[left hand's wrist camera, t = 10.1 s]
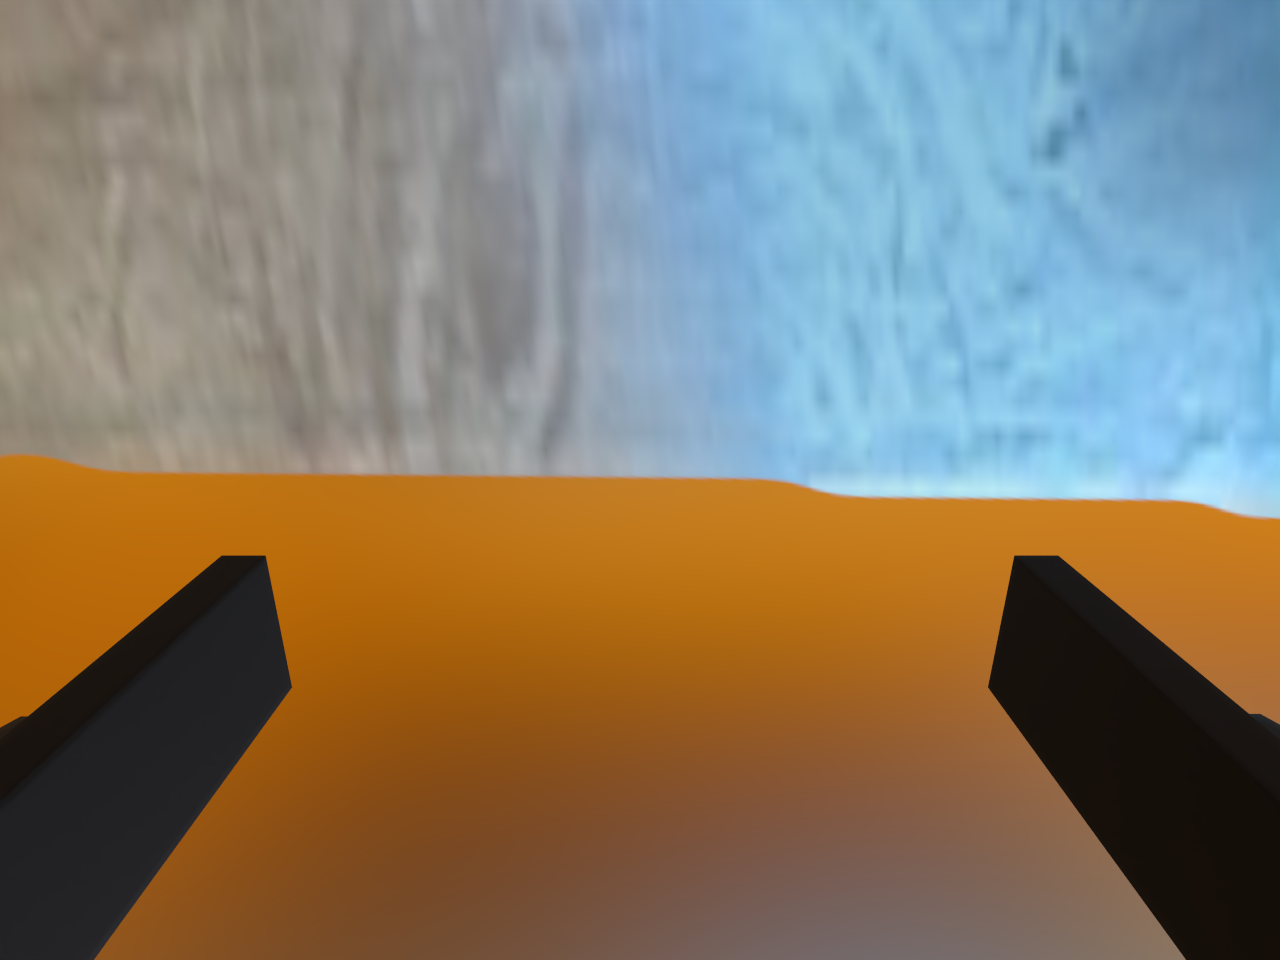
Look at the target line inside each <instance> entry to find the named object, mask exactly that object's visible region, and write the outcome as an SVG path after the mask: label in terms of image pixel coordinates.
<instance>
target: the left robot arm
mask: <svg viewBox="0 0 1280 960" xmlns="http://www.w3.org/2000/svg"><path fill="white" fill-rule="evenodd" d="M291 688H292V685H291V680H290V676H289V671H288V665H287V661H286V655H285V651H284V645H283V640H282V636H281V631H280V625H279V620H278V616H277V610H276V605H275V601H274V596H273V591H272V586H271V581H270V576H269V571H268V566H267V561H266V556H221V557H220V558H218V559H217V560H216V561H215V562H214V563H212V564H211V565H210V566H209V567H208V568H206V569H205V570H204V571H203V572H202V573H200V574H199V575H198V576H197V577H195V578H194V579H193V580H192V581H191V582H189V583H188V584H187V585H186V586H185V587H183V588H182V589H181V590H180V591H179V592H177V593H176V594H175V595H174V596H173V597H171V598H170V599H169V600H168V601H167V602H165V603H164V604H163V605H162V606H161V607H159V608H158V609H157V610H156V611H155V612H153V613H152V614H151V615H150V616H149V617H147V618H146V619H145V620H144V621H143V622H141V623H140V624H139V625H138V626H136V627H135V628H134V629H133V630H132V631H130V632H129V633H128V634H127V635H126V636H124V637H123V638H122V639H121V640H120V641H118V642H117V643H116V644H115V645H114V646H112V647H111V648H110V649H109V650H108V651H106V652H105V653H104V654H103V655H102V656H100V657H99V658H98V659H97V660H95V661H94V662H93V663H92V664H91V665H89V666H88V667H87V668H86V669H85V670H83V671H82V672H81V673H80V674H79V675H77V676H76V677H75V678H74V679H73V680H71V681H70V682H69V683H68V684H67V685H65V686H64V687H63V688H62V689H61V690H59V691H58V692H57V693H56V694H55V695H53V696H52V697H51V698H50V699H49V700H47V701H46V702H45V703H44V704H42V705H41V706H40V707H39V708H38V709H36V710H35V711H34V712H33V713H32V714H30V715H29V716H28V717H19V718H17V719H15V720H13V721H12V722H10V723H8V724H6V725H4V726H3V727H1V728H0V960H94V959H95V957H96V956H97V955H98V953H99V952H100V951H101V949H102V948H103V946H104V945H105V944H106V942H107V941H108V940H109V938H110V937H111V935H112V934H113V933H114V931H115V930H116V929H117V927H118V926H119V924H120V923H121V922H122V920H123V919H124V917H125V916H126V915H127V913H128V912H129V911H130V909H131V908H132V907H133V905H134V904H135V902H136V901H137V900H138V898H139V897H140V896H141V894H142V893H143V891H144V890H145V889H146V887H147V886H148V885H149V883H150V882H151V880H152V879H153V878H154V876H155V875H156V873H157V872H158V871H159V869H160V868H161V867H162V865H163V864H164V863H165V861H166V860H167V858H168V857H169V856H170V854H171V853H172V852H173V850H174V849H175V847H176V846H177V845H178V843H179V842H180V841H181V839H182V838H183V836H184V835H185V834H186V832H187V831H188V829H189V828H190V827H191V825H192V824H193V823H194V821H195V820H196V818H197V817H198V816H199V814H200V813H201V812H202V810H203V809H204V808H205V806H206V805H207V803H208V802H209V801H210V799H211V798H212V796H213V795H214V794H215V792H216V791H217V790H218V788H219V787H220V786H221V784H222V783H223V781H224V780H225V779H226V777H227V776H228V774H229V773H230V772H231V770H232V769H233V768H234V766H235V765H236V763H237V762H238V761H239V759H240V758H241V757H242V755H243V754H244V753H245V751H246V750H247V748H248V747H249V746H250V744H251V743H252V742H253V740H254V739H255V737H256V736H257V735H258V733H259V732H260V730H261V729H262V728H263V726H264V725H265V724H266V722H267V721H268V719H269V718H270V717H271V715H272V714H273V713H274V711H275V710H276V708H277V707H278V706H279V704H280V703H281V702H282V700H283V699H284V697H285V696H286V695H287V693H288V692H289V691H290V689H291ZM988 688H989V689H990V691H991V692H992V693H993V695H994V696H995V697H996V699H997V700H998V702H999V703H1000V704H1001V706H1002V707H1003V708H1004V710H1005V711H1006V713H1007V714H1008V715H1009V717H1010V718H1011V719H1012V721H1013V722H1014V724H1015V725H1016V726H1017V728H1018V729H1019V731H1020V732H1021V733H1022V735H1023V736H1024V737H1025V739H1026V740H1027V741H1028V743H1029V744H1030V746H1031V747H1032V748H1033V750H1034V751H1035V753H1036V754H1037V755H1038V757H1039V758H1040V759H1041V761H1042V762H1043V764H1044V765H1045V766H1046V768H1047V769H1048V770H1049V772H1050V773H1051V775H1052V776H1053V777H1054V778H1055V780H1056V781H1057V783H1058V784H1059V786H1060V787H1061V788H1062V790H1063V791H1064V792H1065V794H1066V795H1067V796H1068V798H1069V799H1070V801H1071V802H1072V803H1073V805H1074V806H1075V808H1076V809H1077V810H1078V812H1079V813H1080V814H1081V816H1082V817H1083V819H1084V820H1085V821H1086V823H1087V824H1088V825H1089V827H1090V828H1091V830H1092V831H1093V832H1094V834H1095V835H1096V836H1097V838H1098V839H1099V841H1100V842H1101V843H1102V845H1103V846H1104V847H1105V849H1106V850H1107V852H1108V853H1109V854H1110V856H1111V857H1112V858H1113V860H1114V861H1115V863H1116V864H1117V865H1118V867H1119V868H1120V869H1121V871H1122V872H1123V873H1124V875H1125V876H1126V878H1127V879H1128V880H1129V882H1130V883H1131V884H1132V886H1133V887H1134V889H1135V890H1136V891H1137V893H1138V894H1139V896H1140V897H1141V898H1142V900H1143V901H1144V902H1145V904H1146V905H1147V906H1148V908H1149V909H1150V911H1151V912H1152V913H1153V915H1154V916H1155V917H1156V919H1157V920H1158V922H1159V923H1160V924H1161V926H1162V927H1163V929H1164V930H1165V931H1166V933H1167V934H1168V935H1169V937H1170V938H1171V939H1172V941H1173V942H1174V944H1175V945H1176V946H1177V948H1178V949H1179V951H1180V952H1181V953H1182V955H1183V956H1184V957H1185V959H1186V960H1280V725H1279V724H1278V723H1276V722H1274V721H1272V720H1270V719H1268V718H1267V717H1265V716H1263V715H1261V714H1248V713H1247V712H1246V711H1245V710H1244V709H1242V708H1241V707H1240V706H1239V705H1238V704H1236V703H1235V702H1234V701H1233V700H1231V699H1230V698H1229V697H1228V696H1227V695H1225V694H1224V693H1223V692H1222V691H1221V690H1219V689H1218V688H1217V687H1216V686H1215V685H1213V684H1212V683H1211V682H1210V681H1209V680H1207V679H1206V678H1205V677H1204V676H1203V675H1201V674H1200V673H1199V672H1198V671H1197V670H1195V669H1194V668H1193V667H1192V666H1190V665H1189V664H1188V663H1187V662H1186V661H1184V660H1183V659H1182V658H1181V657H1180V656H1178V655H1177V654H1176V653H1175V652H1174V651H1172V650H1171V649H1170V648H1169V647H1168V646H1166V645H1165V644H1164V643H1163V642H1161V641H1160V640H1159V639H1158V638H1157V637H1156V636H1154V635H1153V634H1152V633H1151V632H1150V631H1148V630H1147V629H1146V628H1145V627H1144V626H1142V625H1141V624H1140V623H1139V622H1137V621H1136V620H1135V619H1134V618H1133V617H1131V616H1130V615H1129V614H1128V613H1127V612H1125V611H1124V610H1123V609H1122V608H1121V607H1119V606H1118V605H1117V604H1116V603H1115V602H1113V601H1112V600H1111V599H1110V598H1109V597H1107V596H1106V595H1105V594H1104V593H1102V592H1101V591H1100V590H1099V589H1098V588H1097V587H1095V586H1094V585H1093V584H1092V583H1090V582H1089V581H1088V580H1087V579H1086V578H1085V577H1083V576H1082V575H1081V574H1080V573H1078V572H1077V571H1076V570H1075V569H1074V568H1072V567H1071V566H1070V565H1069V564H1068V563H1066V562H1065V561H1064V560H1063V559H1062V558H1060V557H1059V556H1014V561H1013V566H1012V571H1011V576H1010V581H1009V586H1008V591H1007V596H1006V600H1005V606H1004V610H1003V616H1002V620H1001V625H1000V631H999V636H998V641H997V645H996V650H995V655H994V661H993V665H992V670H991V675H990V680H989V685H988Z"/></svg>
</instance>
